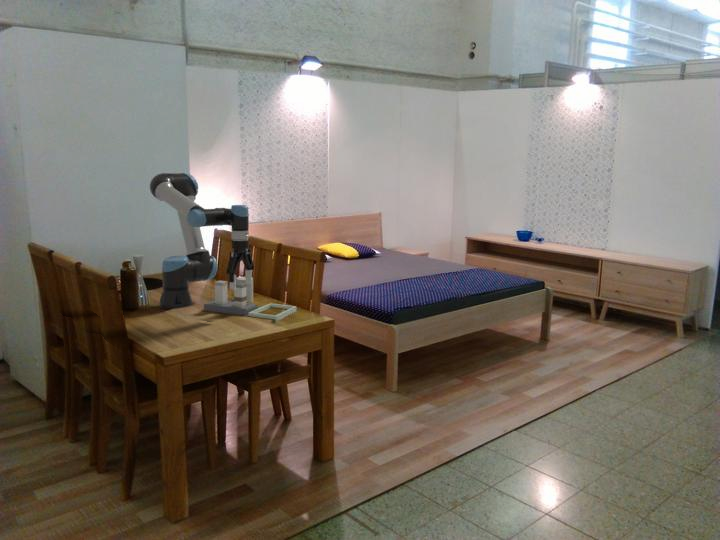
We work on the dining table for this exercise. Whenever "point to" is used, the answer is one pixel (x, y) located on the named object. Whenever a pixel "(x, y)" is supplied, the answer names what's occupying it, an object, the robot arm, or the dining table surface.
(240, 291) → the fuse
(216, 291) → the cylinder
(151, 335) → the dining table surface
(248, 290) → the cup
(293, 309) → the pale green rectangular frame
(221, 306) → the fuse holder
